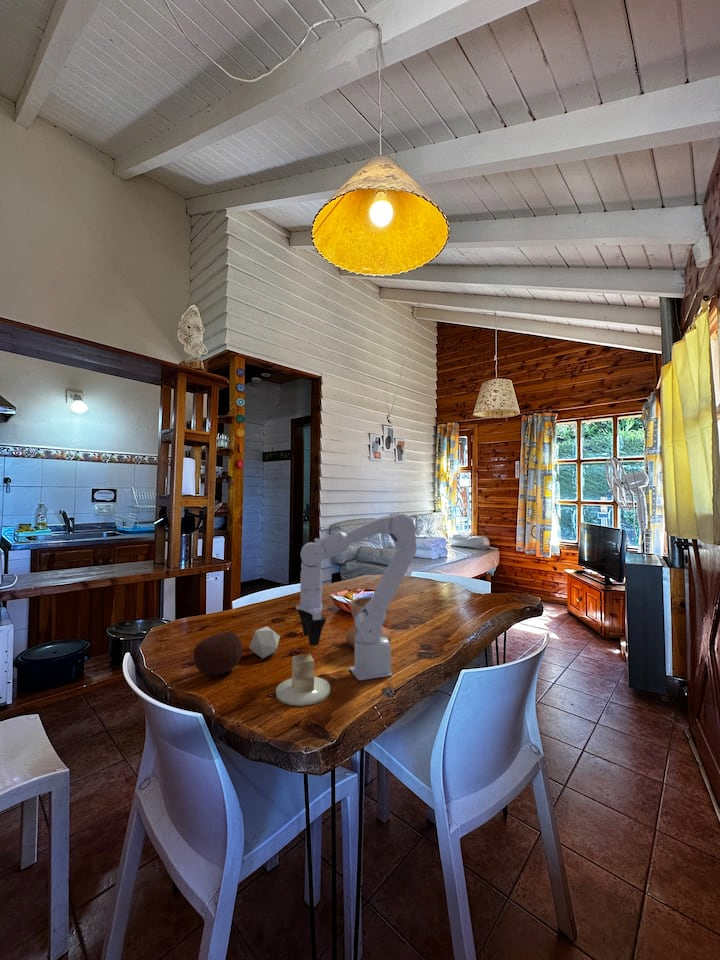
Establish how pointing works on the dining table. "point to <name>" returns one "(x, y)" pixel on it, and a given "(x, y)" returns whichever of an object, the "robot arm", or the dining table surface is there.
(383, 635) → the ceramic jug
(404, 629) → the dining table surface
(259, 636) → the die
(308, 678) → the block
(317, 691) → the plate
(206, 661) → the potato
